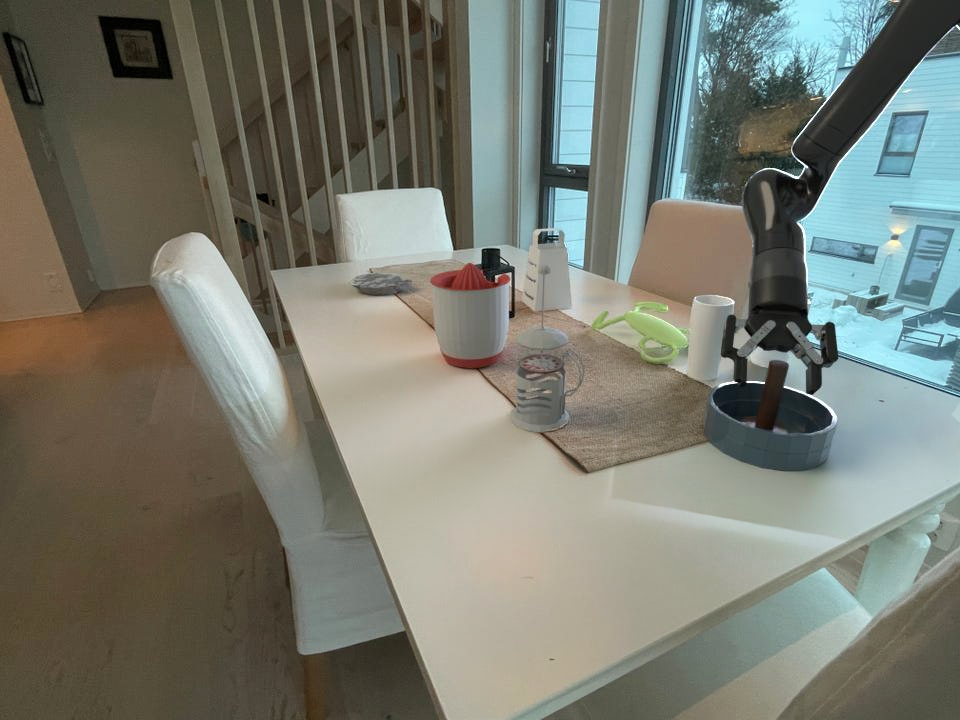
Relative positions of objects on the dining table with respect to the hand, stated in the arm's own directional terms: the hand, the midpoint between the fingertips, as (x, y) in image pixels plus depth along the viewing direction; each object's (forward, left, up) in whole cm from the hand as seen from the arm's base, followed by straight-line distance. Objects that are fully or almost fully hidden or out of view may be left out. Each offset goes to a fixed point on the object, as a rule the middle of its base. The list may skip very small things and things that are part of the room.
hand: (776, 389), depth 70 cm
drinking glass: (+7, -22, -9) cm, 25 cm away
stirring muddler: (0, -1, -9) cm, 9 cm away
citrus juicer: (+51, -20, -9) cm, 56 cm away
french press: (+32, +1, -9) cm, 33 cm away
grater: (+44, -60, -9) cm, 75 cm away
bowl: (0, -1, -9) cm, 9 cm away
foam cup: (-6, -33, -9) cm, 35 cm away
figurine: (+17, -40, -9) cm, 45 cm away
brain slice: (+96, -62, -9) cm, 115 cm away
